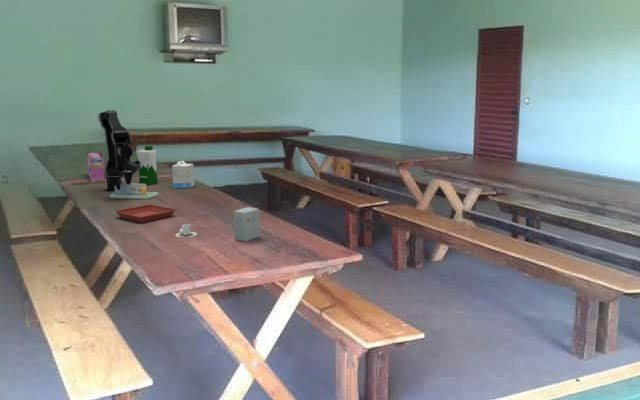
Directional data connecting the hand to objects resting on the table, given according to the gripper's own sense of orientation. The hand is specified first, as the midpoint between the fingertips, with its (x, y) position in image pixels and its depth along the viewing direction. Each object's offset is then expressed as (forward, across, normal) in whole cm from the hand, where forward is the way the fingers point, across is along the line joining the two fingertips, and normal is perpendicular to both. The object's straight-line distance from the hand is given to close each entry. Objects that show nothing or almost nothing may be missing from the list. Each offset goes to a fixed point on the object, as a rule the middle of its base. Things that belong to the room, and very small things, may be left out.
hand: (123, 188), depth 308 cm
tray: (+4, 0, -5) cm, 7 cm away
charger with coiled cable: (+5, -59, -62) cm, 86 cm away
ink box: (+4, +29, -18) cm, 34 cm away
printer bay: (+4, +13, +2) cm, 13 cm away
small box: (+4, -62, -85) cm, 105 cm away
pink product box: (+4, +46, +44) cm, 64 cm away
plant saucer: (+5, -38, -32) cm, 50 cm away
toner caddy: (+4, 0, -4) cm, 5 cm away
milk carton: (+4, +34, +5) cm, 35 cm away
